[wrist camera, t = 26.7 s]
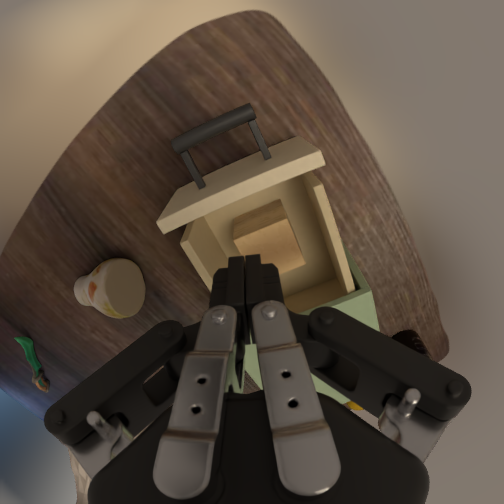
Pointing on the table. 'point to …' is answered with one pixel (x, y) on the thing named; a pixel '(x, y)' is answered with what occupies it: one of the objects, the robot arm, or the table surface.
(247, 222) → the block
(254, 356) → the cabinet
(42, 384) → the knife
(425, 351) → the supplement bottle
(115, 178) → the table surface
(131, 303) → the mug
